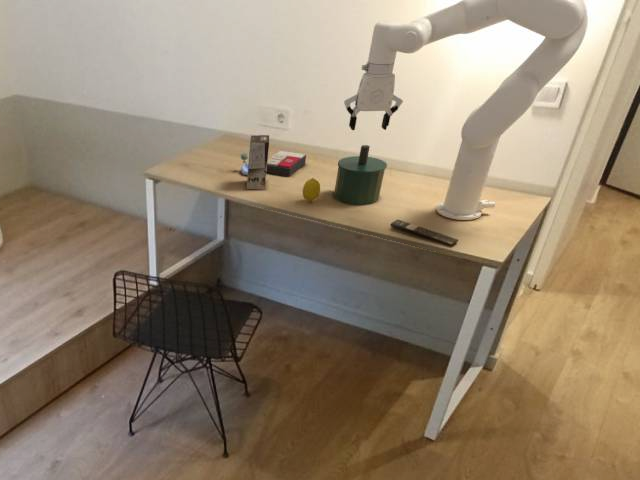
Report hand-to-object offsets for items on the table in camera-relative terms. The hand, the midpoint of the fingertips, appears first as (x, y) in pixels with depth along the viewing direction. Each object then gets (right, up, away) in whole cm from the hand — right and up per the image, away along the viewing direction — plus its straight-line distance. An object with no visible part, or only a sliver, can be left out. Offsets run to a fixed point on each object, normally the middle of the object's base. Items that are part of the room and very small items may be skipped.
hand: (367, 128), depth 194 cm
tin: (+1, -17, +13) cm, 22 cm away
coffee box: (-30, -10, +26) cm, 41 cm away
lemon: (-15, -20, +11) cm, 27 cm away
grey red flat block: (-17, +1, +39) cm, 42 cm away
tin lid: (+1, -9, +7) cm, 11 cm away
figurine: (-30, -2, +36) cm, 47 cm away
